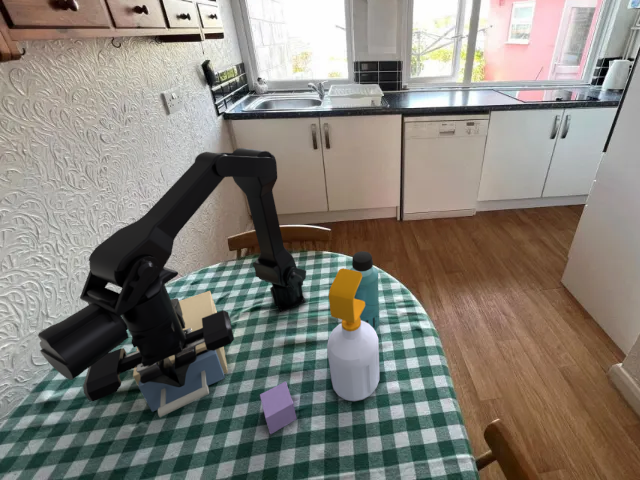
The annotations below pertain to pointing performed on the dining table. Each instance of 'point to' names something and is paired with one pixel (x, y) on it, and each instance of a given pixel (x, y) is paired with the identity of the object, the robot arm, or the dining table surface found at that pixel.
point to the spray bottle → (351, 341)
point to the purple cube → (278, 407)
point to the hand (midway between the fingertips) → (181, 384)
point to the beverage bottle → (367, 287)
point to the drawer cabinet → (196, 323)
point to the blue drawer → (195, 386)
